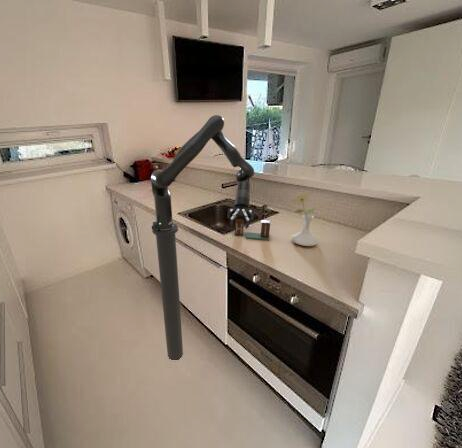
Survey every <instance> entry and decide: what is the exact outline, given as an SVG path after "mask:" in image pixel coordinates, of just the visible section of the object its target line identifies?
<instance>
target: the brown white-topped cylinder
mask: <svg viewBox="0 0 462 448" xmlns="http://www.w3.org/2000/svg"><path fill="white" fill-rule="evenodd" d="M270 229H271V220H269V219H268V220H266V219H262V220H261V227H260V233H261V237H264V238H269V239H270Z"/></svg>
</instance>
